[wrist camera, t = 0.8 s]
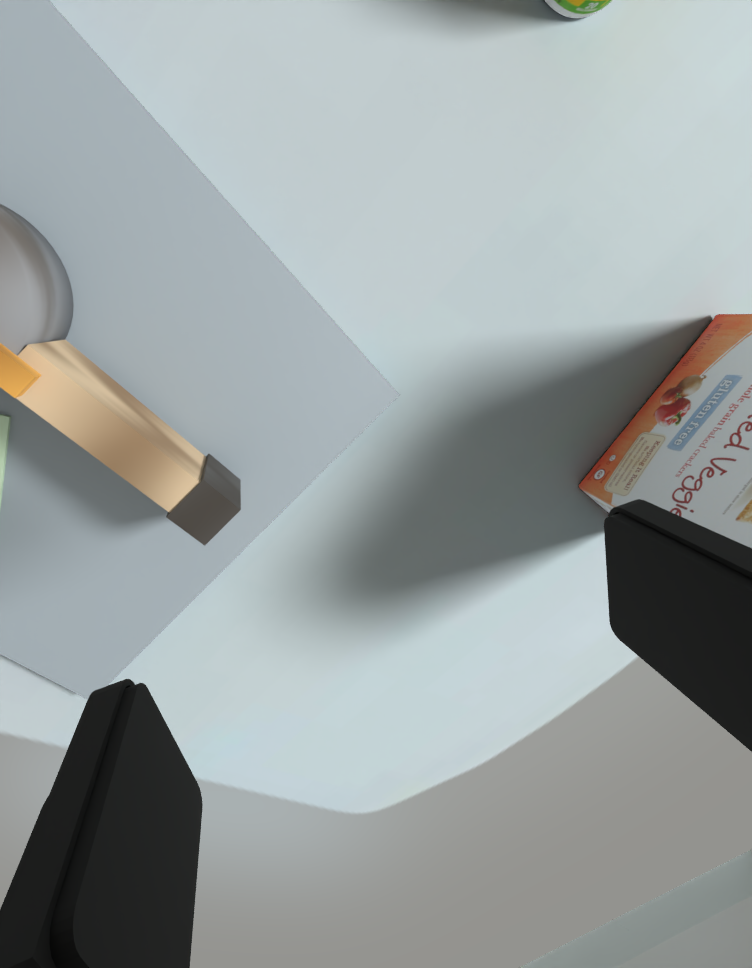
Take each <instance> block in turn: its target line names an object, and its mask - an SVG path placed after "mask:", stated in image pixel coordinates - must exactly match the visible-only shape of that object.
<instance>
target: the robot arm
mask: <svg viewBox="0 0 752 968" xmlns="http://www.w3.org/2000/svg"><path fill="white" fill-rule="evenodd" d="M604 531H605V548H606V566H607V583H608V600H609V618H610V625H611V628H612V630H613V632H614V634H615V635H616V636H617V638H618V639H619V640H620V641H622V642H623V643H624V644H625V645H626V646H627V647H629V648H630V649H631V650H632V651H633V652H635V653H636V654H637V655H638V656H639V657H641V658H642V659H643V660H644V661H645V662H646V663H648V664H649V665H650V666H651V667H652V668H654V669H655V670H656V671H657V672H658V673H660V674H661V675H662V676H663V677H664V678H665V679H667V680H668V681H669V682H670V683H671V684H672V685H674V686H675V687H676V688H677V689H678V690H680V691H681V692H682V693H683V694H684V695H685V696H687V697H688V698H689V699H690V700H691V701H693V702H694V703H695V704H696V705H697V706H698V707H700V708H701V709H702V710H703V711H705V712H706V713H707V714H708V715H709V716H710V717H712V718H713V719H714V720H715V721H716V722H717V723H719V724H720V725H721V726H722V727H723V728H724V729H726V730H727V731H728V732H729V733H730V734H732V735H733V736H734V737H735V738H736V739H737V740H739V741H740V742H741V743H742V744H743V745H745V746H746V747H747V748H748V749H749V750H750V751H752V548H750V547H748V546H745V545H743V544H741V543H739V542H736V541H734V540H732V539H730V538H728V537H725V536H723V535H721V534H719V533H716V532H714V531H712V530H710V529H707V528H705V527H703V526H701V525H698V524H696V523H694V522H692V521H690V520H687V519H685V518H683V517H681V516H678V515H676V514H674V513H672V512H669V511H667V510H665V509H663V508H660V507H658V506H656V505H654V504H652V503H649V502H647V501H645V500H641V499H637V500H634V501H631V502H628V503H625V504H622V505H619V506H617V507H614V508H612V509H611V510H610V513H609V517H607V518H606V519H605V522H604ZM201 817H202V797H201V792H200V788H199V786H198V783H197V781H196V780H195V778H194V776H193V774H192V772H191V770H190V768H189V766H188V764H187V762H186V760H185V759H184V757H183V755H182V753H181V751H180V749H179V747H178V745H177V743H176V741H175V740H174V738H173V736H172V734H171V732H170V730H169V728H168V726H167V724H166V722H165V720H164V719H163V717H162V715H161V713H160V711H159V709H158V707H157V705H156V703H155V701H154V700H153V698H152V696H151V694H150V692H149V690H148V688H147V687H146V685H145V684H143V683H139V684H137V685H135V684H134V682H133V681H131V680H130V679H125V680H123V681H120V682H117V683H114V684H111V685H108V686H106V687H103V688H100V689H97V690H95V691H93V692H92V693H91V694H90V696H89V698H88V701H87V703H86V706H85V708H84V710H83V713H82V715H81V718H80V720H79V723H78V725H77V728H76V730H75V733H74V735H73V738H72V740H71V743H70V745H69V748H68V750H67V753H66V755H65V758H64V760H63V762H62V765H61V767H60V770H59V772H58V775H57V777H56V780H55V782H54V785H53V787H52V790H51V792H50V795H49V796H48V798H47V799H46V801H45V803H44V805H43V807H42V809H41V811H40V814H39V816H38V819H37V821H36V824H35V826H34V829H33V831H32V833H31V836H30V838H29V841H28V843H27V846H26V848H25V851H24V853H23V855H22V858H21V861H20V863H19V865H18V868H17V870H16V873H15V875H14V877H13V880H12V883H11V885H10V887H9V890H8V892H7V895H6V897H5V899H4V902H3V904H2V907H1V909H0V968H189V967H190V955H191V943H192V929H193V918H194V905H195V892H196V879H197V868H198V854H199V843H200V830H201ZM520 968H752V850H750V851H748V852H746V853H744V854H742V855H740V856H738V857H736V858H734V859H732V860H730V861H728V862H726V863H724V864H722V865H720V866H718V867H716V868H714V869H712V870H710V871H708V872H706V873H704V874H702V875H700V876H698V877H696V878H694V879H692V880H690V881H688V882H686V883H684V884H683V885H681V886H679V887H677V888H675V889H673V890H671V891H669V892H667V893H665V894H663V895H661V896H659V897H657V898H655V899H653V900H651V901H649V902H647V903H645V904H643V905H641V906H639V907H637V908H635V909H633V910H631V911H629V912H627V913H625V914H624V915H622V916H620V917H618V918H616V919H614V920H612V921H610V922H608V923H606V924H604V925H602V926H600V927H598V928H596V929H594V930H592V931H590V932H588V933H586V934H584V935H582V936H581V937H578V938H576V939H574V940H573V941H571V942H569V943H567V944H565V945H563V946H561V947H559V948H557V949H555V950H553V951H551V952H549V953H547V954H545V955H543V956H541V957H539V958H537V959H535V960H533V961H532V962H529V963H528V964H526V965H524V966H522V967H520Z"/></svg>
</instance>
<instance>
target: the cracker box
mask: <svg viewBox="0 0 752 968" xmlns="http://www.w3.org/2000/svg"><path fill="white" fill-rule="evenodd" d="M579 488H580V489H581V490H583V491H584V492H585V493H586V494H587V495H588V496H589V497H591V498H592V499H593V500H594V501H595V502H596V503H598V504H599V505H600V506H601V507H602V508H603V509H605V510H606V511H607V512H608V513H610V510H611V509H612V508H614V507H617V506H619V505H622V504H625V503H628V502H631V501H634V500H637V499H641V500H645V501H647V502H649V503H652V504H654V505H656V506H658V507H660V508H663V509H665V510H667V511H669V512H672V513H674V514H676V515H678V516H681V517H683V518H685V519H687V520H690V521H692V522H694V523H696V524H698V525H701V526H703V527H705V528H707V529H710V530H712V531H714V532H716V533H719V534H721V535H723V536H725V537H728V538H730V539H732V540H734V541H736V542H739V543H741V544H743V545H745V546H748V547H750V548H752V314H719V315H716V316H715V317H714V319H713V321H712V322H711V323H710V324H709V325H708V327H707V328H706V329H705V330H704V332H703V333H702V334H701V336H700V337H699V338H698V339H697V340H696V342H695V343H694V344H693V345H692V347H691V348H690V349H689V350H688V352H687V353H686V354H685V355H684V356H683V358H682V359H681V360H680V361H679V363H678V364H677V365H676V366H675V368H674V369H673V370H672V371H671V372H670V374H669V375H668V376H667V377H666V379H665V380H664V381H663V382H662V383H661V385H660V386H659V387H658V388H657V390H656V391H655V392H654V393H653V395H652V396H651V397H650V398H649V399H648V401H647V402H646V403H645V404H644V406H643V407H642V408H641V409H640V410H639V412H638V413H637V414H636V415H635V417H634V418H633V419H632V420H631V422H630V423H629V424H628V425H627V427H626V428H625V429H624V430H623V431H622V433H621V434H620V435H619V436H618V437H617V439H616V440H615V441H614V442H613V444H612V445H611V446H610V447H609V449H608V450H607V451H606V452H605V453H604V455H603V456H602V457H601V458H600V460H599V461H598V462H597V463H596V465H595V466H594V467H593V468H592V469H591V471H590V472H589V473H588V474H587V475H586V477H585V478H584V479H583V480H582V482H581V483H580V484H579Z"/></svg>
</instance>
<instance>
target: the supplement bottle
mask: <svg viewBox="0 0 752 968" xmlns="http://www.w3.org/2000/svg"><path fill="white" fill-rule="evenodd" d="M612 1H613V0H545V2H546V3H547V4H548V5H549V6H550V7H551V8H552V9H554V10H555V11H556V12H558V13H559V14H561V15H563V16H566V17H570V18H584V17H588V16H591V15H593V14H595V13H597V12H598V11H600V10H601V9H603V8H604V7H605V6H606V5H608V4H609V3H610V2H612Z"/></svg>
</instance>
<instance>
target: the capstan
mask: <svg viewBox="0 0 752 968" xmlns="http://www.w3.org/2000/svg"><path fill="white" fill-rule="evenodd" d="M73 307H74V304H73V293H72V288H71V284H70V280H69V277H68V275H67V272H66V269H65V267H64V265H63V263H62V261H61V259H60V258H59V256H58V254H57V253H56V251H55V250H54V248H53V247H52V246H51V244H50V243H49V242H48V241H47V239H46V238H45V237H44V236H43V235H42V234H41V233H40V232H39V231H38V230H37V229H36V228H35V227H34V226H33V225H32V224H31V223H29V222H28V221H27V220H26V219H24V218H23V217H22V216H20V215H19V214H17V213H16V212H14V211H13V210H11V209H9V208H7V207H5V206H4V205H2V204H0V387H1V388H2V389H3V390H5V391H6V392H7V393H9V394H10V395H11V396H13V397H14V398H16V399H18V400H19V401H20V402H22V403H23V404H24V405H26V406H27V407H28V408H30V409H31V410H32V411H34V412H35V413H36V414H38V415H39V416H40V417H42V418H43V419H44V420H46V421H47V422H48V423H50V424H51V425H52V426H54V427H55V428H57V429H58V430H59V431H61V432H62V433H63V434H65V435H66V436H67V437H69V438H70V439H71V440H73V441H74V442H75V443H77V444H78V445H79V446H81V447H82V448H83V449H85V450H86V451H87V452H89V453H90V454H91V455H93V456H94V457H95V458H97V459H98V460H99V461H101V462H102V463H103V464H105V465H106V466H107V467H109V468H110V469H111V470H113V471H114V472H115V473H117V474H118V475H120V476H121V477H122V478H124V479H125V480H126V481H128V482H129V483H130V484H132V485H133V486H134V487H136V488H137V489H138V490H140V491H141V492H142V493H144V494H145V495H146V496H148V497H149V498H150V499H152V500H153V501H154V502H156V503H157V504H158V505H160V506H161V507H162V508H164V509H165V510H166V511H168V513H167V516H166V518H168V519H169V520H170V521H172V522H173V523H174V524H176V525H177V526H179V527H180V528H181V529H183V530H184V531H185V532H187V533H188V534H189V535H191V536H192V537H193V538H195V539H196V540H197V541H199V542H200V543H202V544H203V545H204V546H205V545H206V544H207V543H208V542H209V541H210V540H211V539H212V538H213V537H214V536H215V535H216V534H217V533H218V532H219V531H220V530H221V529H222V528H223V527H224V526H225V525H226V524H227V523H228V522H229V521H230V520H231V519H232V518H233V517H234V516H235V515H236V514H237V513H238V512H239V511H240V510H241V480H240V479H239V478H238V477H237V476H236V475H234V474H233V473H232V472H231V471H230V470H228V469H227V468H226V467H225V466H224V465H222V464H221V463H220V462H219V461H218V460H216V459H215V458H214V457H213V456H212V455H211V454H208V455H207V456H205V455H203V454H202V453H201V452H200V451H199V450H197V449H196V448H195V447H194V446H193V445H191V444H190V443H189V442H188V441H187V440H185V439H184V438H183V437H182V436H181V435H179V434H178V433H177V432H176V431H175V430H173V429H172V428H171V427H170V426H169V425H167V424H166V423H165V422H164V421H163V420H161V419H160V418H159V417H158V416H157V415H155V414H154V413H153V412H152V411H151V410H149V409H148V408H147V407H146V406H145V405H143V404H142V403H141V402H140V401H139V400H137V399H136V398H135V397H134V396H133V395H131V394H130V393H129V392H128V391H127V390H125V389H124V388H123V387H122V386H121V385H119V384H118V383H117V382H116V381H115V380H113V379H112V378H111V377H110V376H109V375H107V374H106V373H105V372H104V371H103V370H101V369H100V368H99V367H98V366H97V365H95V364H94V363H93V362H92V361H91V360H89V359H88V358H87V357H86V356H85V355H83V354H82V353H81V352H80V351H79V350H77V349H76V348H75V347H74V346H73V345H71V344H70V343H69V342H68V341H67V340H65V339H66V337H67V335H68V333H69V330H70V327H71V323H72V318H73Z"/></svg>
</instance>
